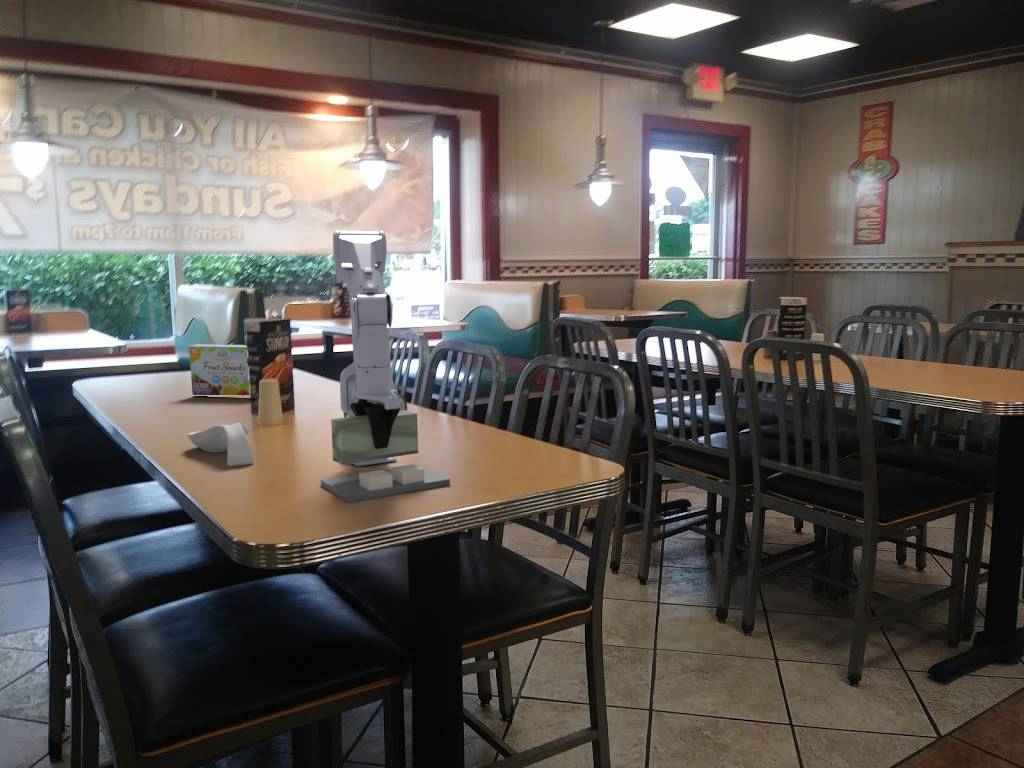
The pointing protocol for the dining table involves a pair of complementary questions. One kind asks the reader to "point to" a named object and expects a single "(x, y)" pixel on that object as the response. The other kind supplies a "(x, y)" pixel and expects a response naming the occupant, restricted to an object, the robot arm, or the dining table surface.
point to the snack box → (219, 369)
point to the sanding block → (357, 440)
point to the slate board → (353, 491)
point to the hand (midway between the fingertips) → (375, 445)
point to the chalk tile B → (407, 474)
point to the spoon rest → (225, 442)
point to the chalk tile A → (376, 480)
